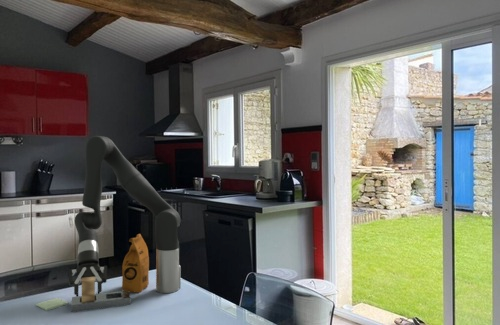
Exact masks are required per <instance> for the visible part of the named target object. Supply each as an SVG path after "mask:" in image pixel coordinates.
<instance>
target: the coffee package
mask: <svg viewBox="0 0 500 325" xmlns="http://www.w3.org/2000/svg"><path fill="white" fill-rule="evenodd" d="M128 242H130V243H131V245H130V247H129V250H128V252H127V253H126V254H125V256H124V259H123V262H122V265H121V266H122V267H121V268H122V280H121V281H122V283H121V290H122V291H127V290H128V292H129V293H134V294H135V293H138V294H139V293H142V292H143V291H144V289H147V288H148V286H149V284H150V283H149V282H150V281H149V270H150V257H149V249H148V246H147V243H146V242H145V240H144V238H143V236H142V235H141V233H138V234H136V236H135V237H131V238H129V240H128Z"/></svg>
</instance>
